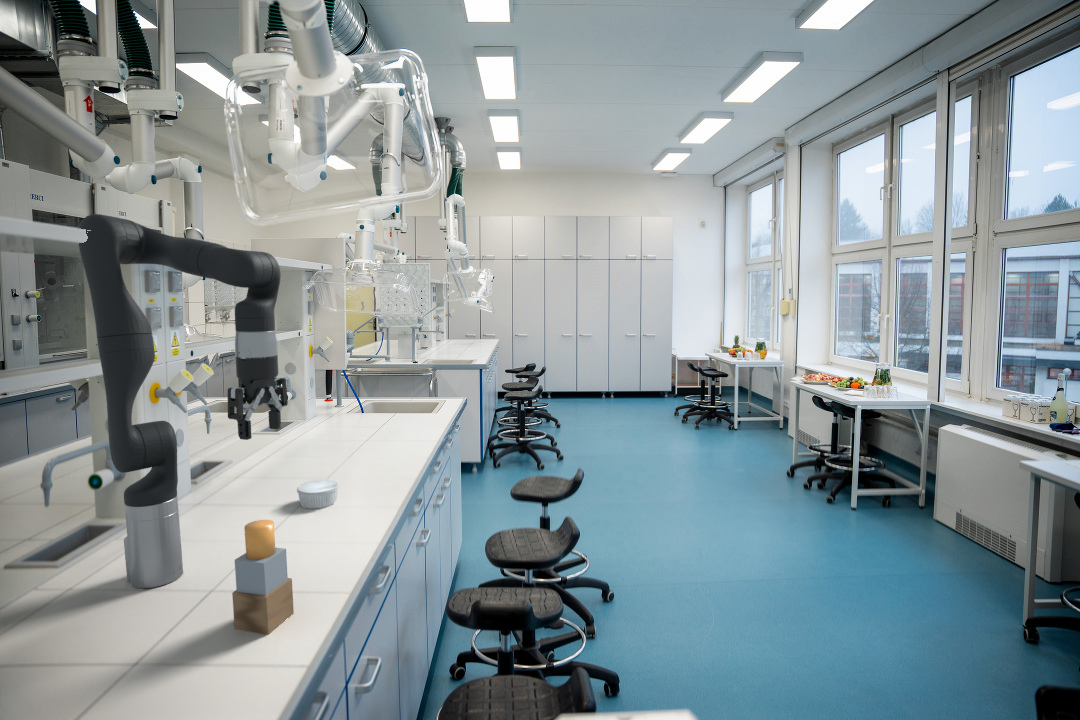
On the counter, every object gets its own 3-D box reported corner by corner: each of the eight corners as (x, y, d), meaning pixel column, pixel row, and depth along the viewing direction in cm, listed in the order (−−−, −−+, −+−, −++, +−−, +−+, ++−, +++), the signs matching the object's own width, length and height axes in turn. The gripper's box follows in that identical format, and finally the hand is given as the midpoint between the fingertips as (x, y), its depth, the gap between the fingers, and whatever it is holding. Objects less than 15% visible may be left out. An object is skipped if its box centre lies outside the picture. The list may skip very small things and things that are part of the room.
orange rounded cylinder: (240, 558, 105) (238, 528, 105) (258, 547, 110) (256, 518, 109) (263, 561, 104) (262, 531, 104) (281, 549, 109) (279, 520, 108)
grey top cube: (236, 591, 105) (234, 559, 105) (259, 575, 111) (257, 545, 111) (265, 595, 104) (264, 563, 103) (287, 579, 110) (286, 548, 109)
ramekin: (324, 512, 162) (323, 493, 161) (288, 508, 164) (288, 490, 164) (347, 498, 173) (346, 480, 172) (313, 495, 175) (312, 478, 175)
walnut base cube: (234, 629, 106) (232, 592, 105) (261, 609, 113) (259, 574, 112) (268, 634, 104) (266, 597, 104) (293, 613, 111) (291, 578, 110)
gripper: (265, 349, 124) (268, 424, 126) (212, 357, 111) (217, 441, 113) (296, 350, 123) (299, 427, 125) (247, 358, 109) (251, 444, 111)
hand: (260, 433), depth 119 cm, fingers open, 8 cm apart
